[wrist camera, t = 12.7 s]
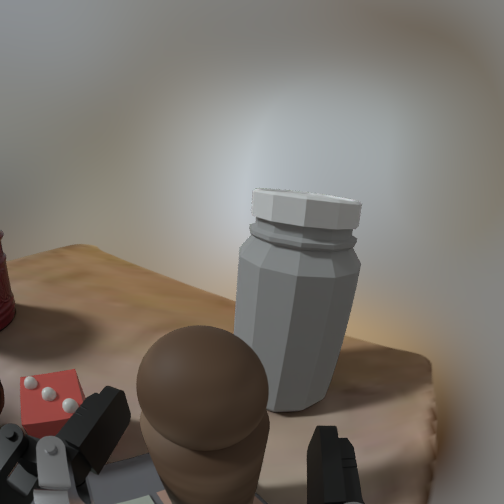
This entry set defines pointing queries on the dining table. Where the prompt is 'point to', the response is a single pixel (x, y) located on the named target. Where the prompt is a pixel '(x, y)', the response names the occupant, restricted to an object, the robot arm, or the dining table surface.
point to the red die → (49, 401)
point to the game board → (132, 483)
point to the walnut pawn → (204, 415)
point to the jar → (297, 290)
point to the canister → (5, 292)
